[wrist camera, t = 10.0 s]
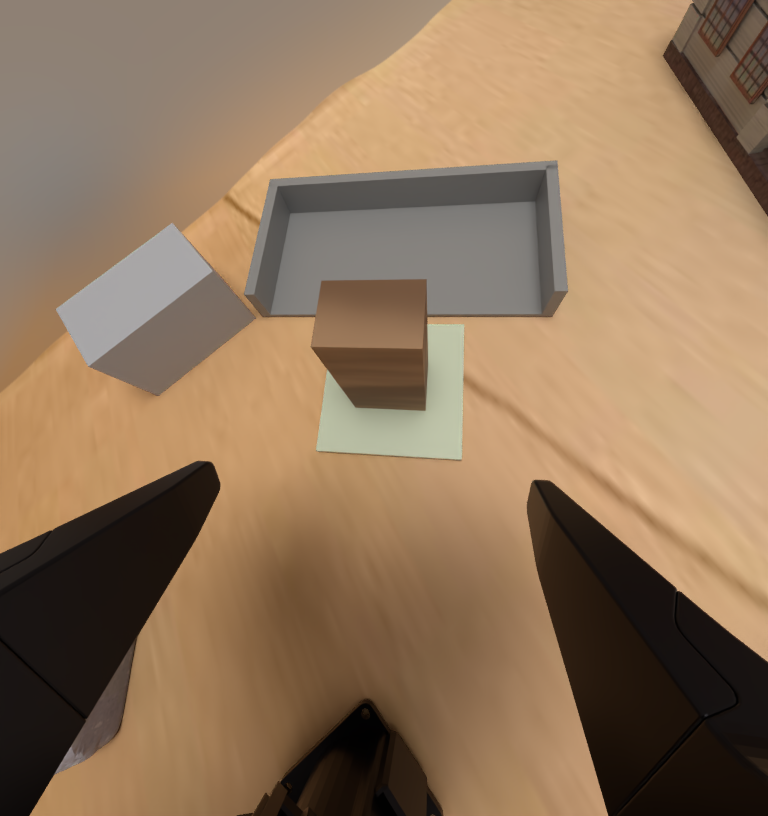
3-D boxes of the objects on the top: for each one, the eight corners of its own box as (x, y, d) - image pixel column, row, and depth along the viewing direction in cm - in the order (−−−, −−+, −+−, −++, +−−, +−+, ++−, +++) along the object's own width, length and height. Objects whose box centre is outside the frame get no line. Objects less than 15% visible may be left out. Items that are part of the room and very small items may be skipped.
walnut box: (425, 410, 23) (422, 348, 14) (355, 407, 24) (310, 346, 15) (428, 363, 24) (426, 277, 15) (360, 361, 25) (321, 278, 16)
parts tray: (552, 316, 25) (568, 291, 22) (262, 316, 28) (243, 294, 25) (544, 196, 28) (557, 160, 25) (284, 209, 31) (270, 179, 28)
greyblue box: (159, 396, 27) (88, 366, 22) (129, 348, 29) (55, 309, 23) (256, 319, 28) (212, 270, 23) (221, 277, 30) (172, 222, 24)
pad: (461, 460, 23) (461, 459, 22) (317, 451, 24) (316, 450, 24) (463, 327, 25) (464, 324, 25) (334, 326, 27) (333, 324, 26)
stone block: (27, 720, 23) (131, 747, 20) (-82, 764, 19) (29, 807, 16) (76, 536, 27) (169, 535, 24) (-4, 538, 23) (96, 538, 20)
